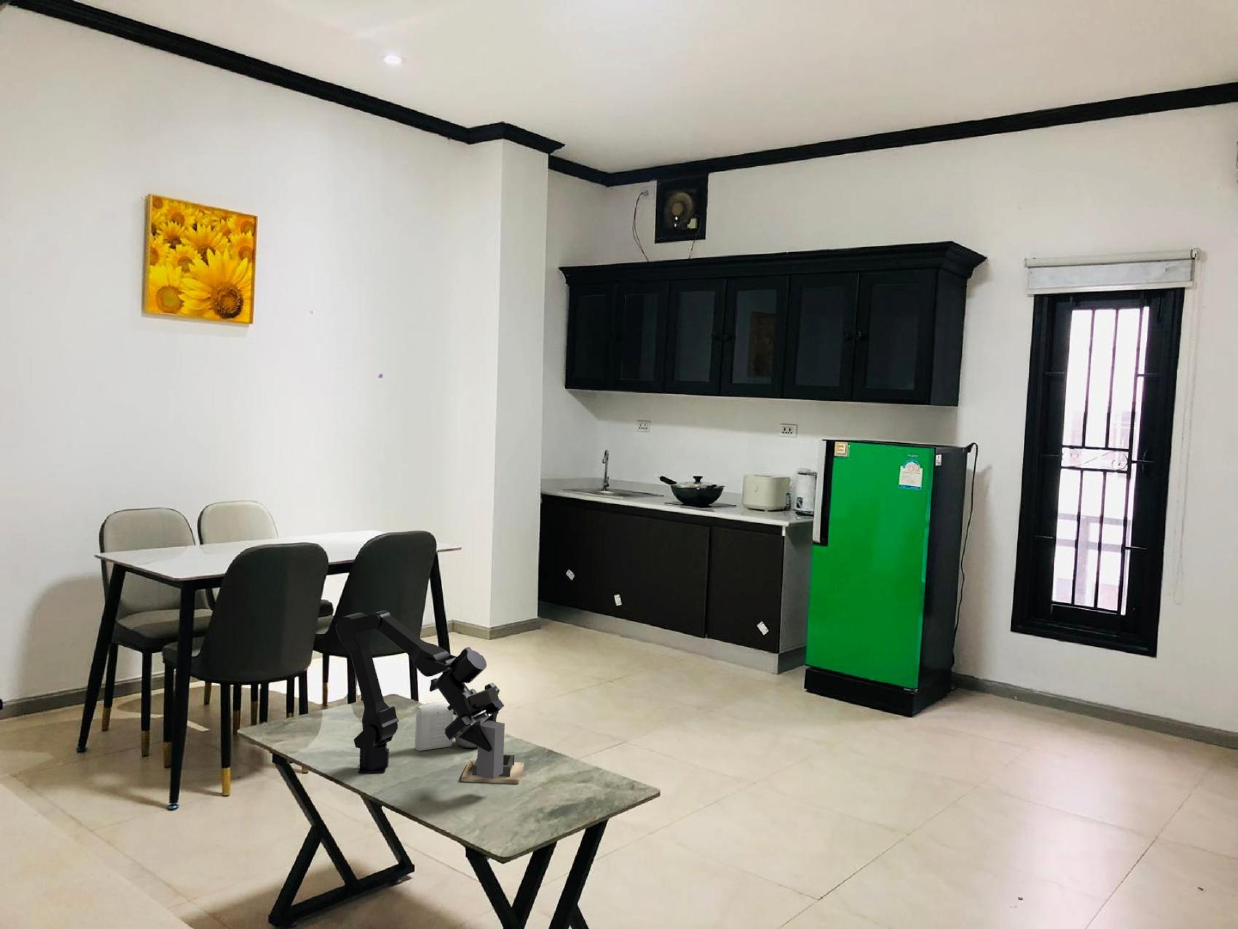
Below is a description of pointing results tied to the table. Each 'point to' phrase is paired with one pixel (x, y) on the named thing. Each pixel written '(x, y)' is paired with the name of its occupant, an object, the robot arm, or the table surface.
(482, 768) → the plug block
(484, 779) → the socket board
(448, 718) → the photo printer
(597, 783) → the table surface
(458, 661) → the robot arm
